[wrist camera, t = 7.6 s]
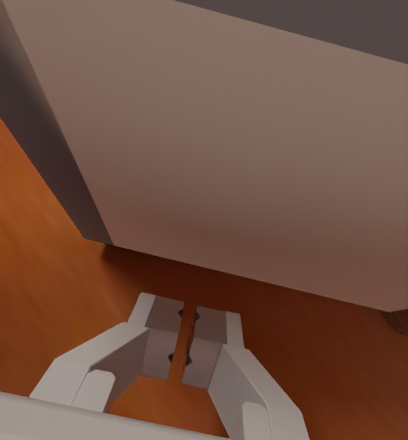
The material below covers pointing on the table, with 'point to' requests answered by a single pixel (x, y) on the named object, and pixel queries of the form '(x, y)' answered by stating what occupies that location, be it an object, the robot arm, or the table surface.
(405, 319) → the hinge post
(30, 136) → the gate
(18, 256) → the table surface
